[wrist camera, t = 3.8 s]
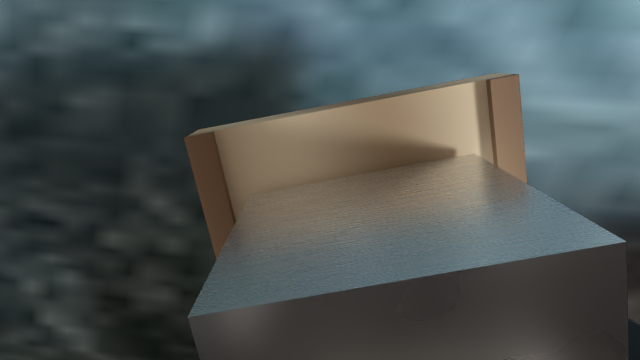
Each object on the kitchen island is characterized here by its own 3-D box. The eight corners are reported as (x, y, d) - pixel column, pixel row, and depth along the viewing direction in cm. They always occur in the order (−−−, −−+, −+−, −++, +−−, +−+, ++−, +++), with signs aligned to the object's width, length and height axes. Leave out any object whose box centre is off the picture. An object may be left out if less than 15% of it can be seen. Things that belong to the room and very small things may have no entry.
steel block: (474, 153, 10) (626, 242, 5) (495, 350, 11) (632, 574, 6) (249, 194, 10) (187, 317, 5) (294, 383, 11) (277, 624, 6)
